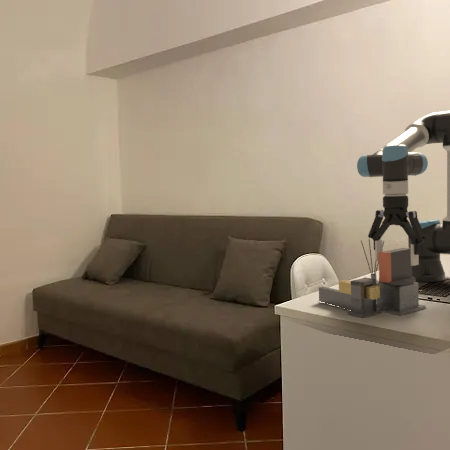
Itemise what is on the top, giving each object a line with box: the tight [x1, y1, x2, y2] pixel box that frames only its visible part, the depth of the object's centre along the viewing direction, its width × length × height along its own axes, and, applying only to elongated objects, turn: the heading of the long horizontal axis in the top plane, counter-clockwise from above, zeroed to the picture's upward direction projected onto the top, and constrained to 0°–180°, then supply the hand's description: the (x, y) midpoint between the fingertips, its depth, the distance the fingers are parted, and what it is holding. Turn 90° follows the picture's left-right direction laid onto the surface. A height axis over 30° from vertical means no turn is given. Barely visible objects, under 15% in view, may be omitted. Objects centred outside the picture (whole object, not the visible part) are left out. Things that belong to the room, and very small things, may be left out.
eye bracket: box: [318, 277, 383, 319], centre depth 162 cm, size 9×22×10 cm, turn 33°
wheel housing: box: [376, 281, 427, 316], centre depth 159 cm, size 12×12×8 cm
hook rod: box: [338, 279, 380, 300], centre depth 157 cm, size 3×14×4 cm, turn 33°
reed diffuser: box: [360, 238, 385, 283], centre depth 177 cm, size 10×7×20 cm
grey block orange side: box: [378, 247, 417, 286], centre depth 158 cm, size 12×11×10 cm
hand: (396, 262), depth 158 cm, fingers open, 13 cm apart
